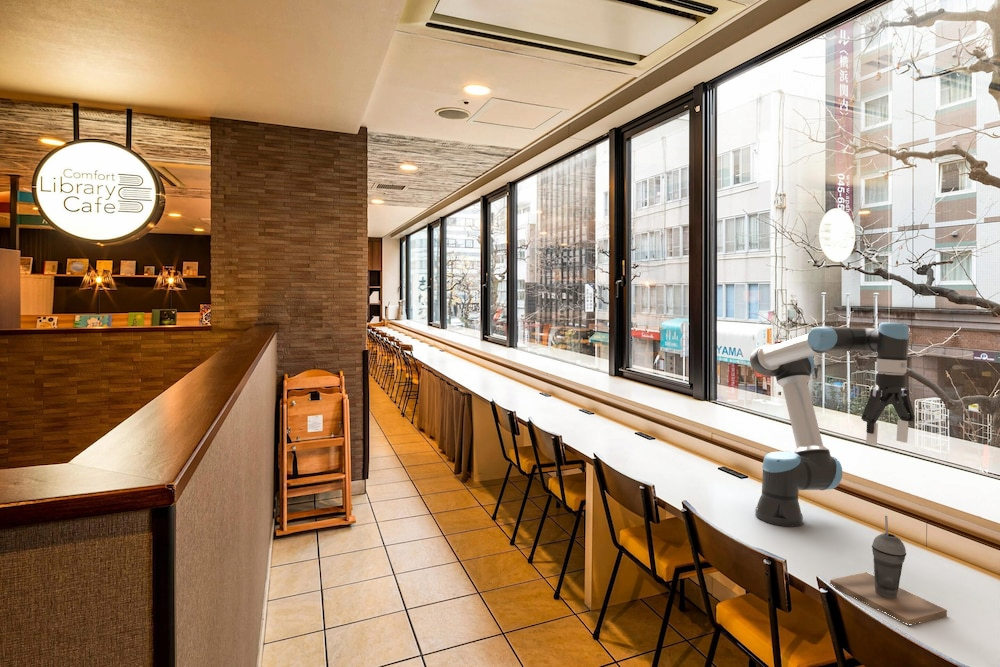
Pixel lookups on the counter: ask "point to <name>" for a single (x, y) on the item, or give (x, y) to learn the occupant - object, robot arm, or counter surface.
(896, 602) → the serving board
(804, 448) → the robot arm
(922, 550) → the counter surface
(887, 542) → the beverage cup
